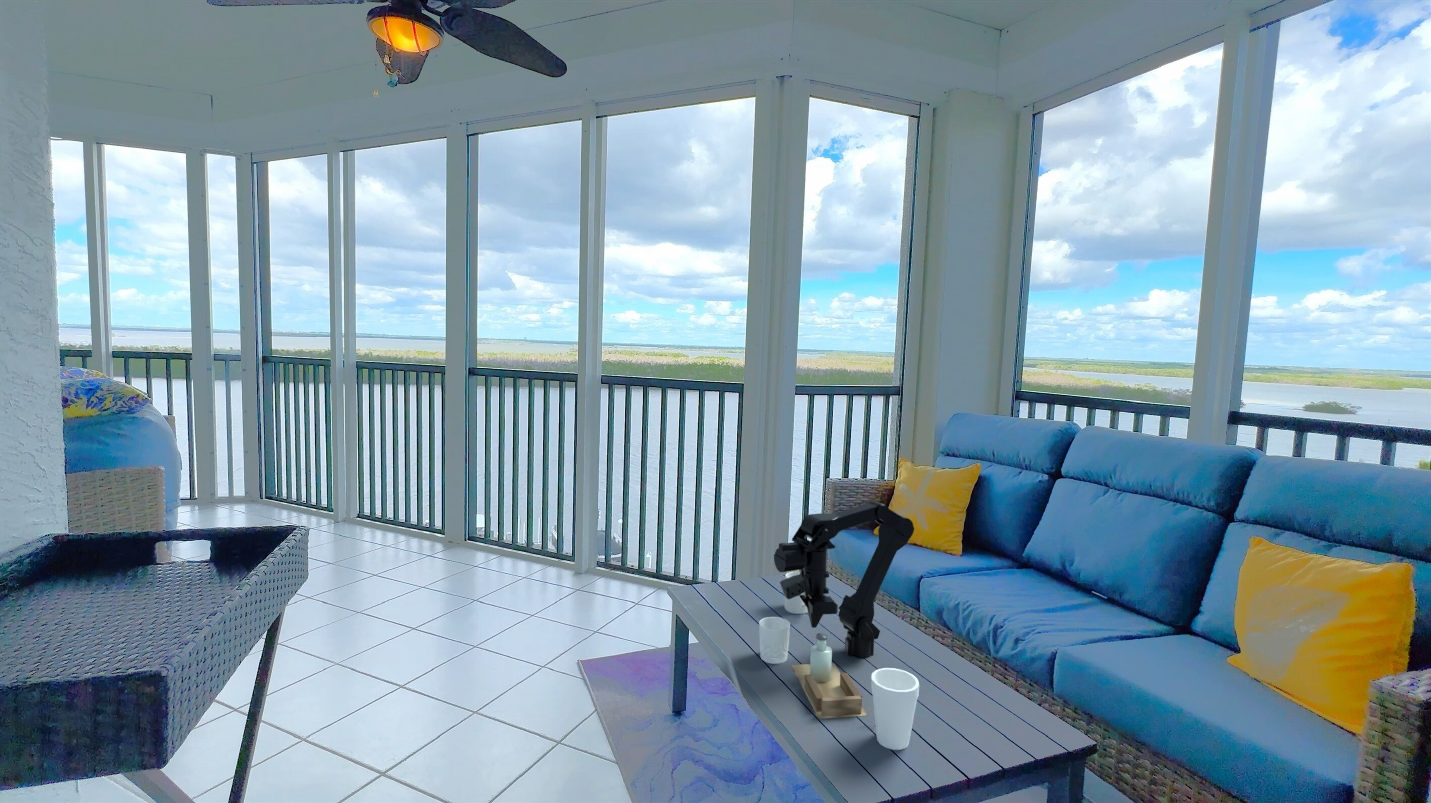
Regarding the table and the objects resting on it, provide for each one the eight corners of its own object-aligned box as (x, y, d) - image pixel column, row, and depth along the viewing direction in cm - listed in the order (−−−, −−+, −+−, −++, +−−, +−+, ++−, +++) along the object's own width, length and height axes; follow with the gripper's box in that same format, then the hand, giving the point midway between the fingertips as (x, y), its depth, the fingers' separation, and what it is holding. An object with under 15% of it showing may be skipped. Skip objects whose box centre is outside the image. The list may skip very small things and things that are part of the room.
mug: (780, 605, 197) (780, 573, 196) (802, 602, 200) (803, 570, 199) (798, 621, 185) (799, 587, 184) (822, 617, 188) (823, 583, 187)
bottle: (827, 671, 155) (828, 630, 154) (833, 682, 150) (835, 639, 149) (807, 672, 154) (808, 631, 153) (813, 683, 149) (814, 640, 148)
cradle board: (833, 666, 159) (834, 649, 159) (867, 719, 137) (868, 699, 136) (791, 668, 158) (791, 651, 157) (818, 722, 135) (818, 702, 135)
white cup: (753, 663, 160) (754, 625, 159) (765, 650, 167) (766, 614, 166) (782, 671, 157) (783, 632, 156) (793, 658, 163) (794, 620, 163)
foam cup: (881, 721, 136) (883, 663, 135) (923, 738, 130) (926, 678, 129) (861, 741, 129) (863, 680, 128) (904, 761, 123) (907, 697, 122)
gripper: (775, 555, 165) (773, 612, 166) (793, 581, 147) (791, 646, 148) (816, 553, 167) (814, 611, 168) (839, 579, 148) (837, 643, 149)
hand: (813, 626), depth 158 cm, fingers closed
